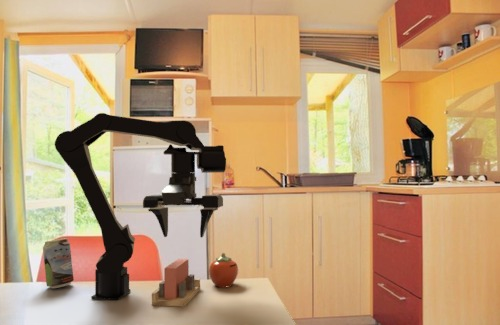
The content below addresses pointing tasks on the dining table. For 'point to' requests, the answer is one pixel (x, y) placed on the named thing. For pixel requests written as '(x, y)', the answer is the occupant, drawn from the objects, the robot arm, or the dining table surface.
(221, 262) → the tomato
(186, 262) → the pink rectangular block
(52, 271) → the printed carton
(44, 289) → the dining table surface
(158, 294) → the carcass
